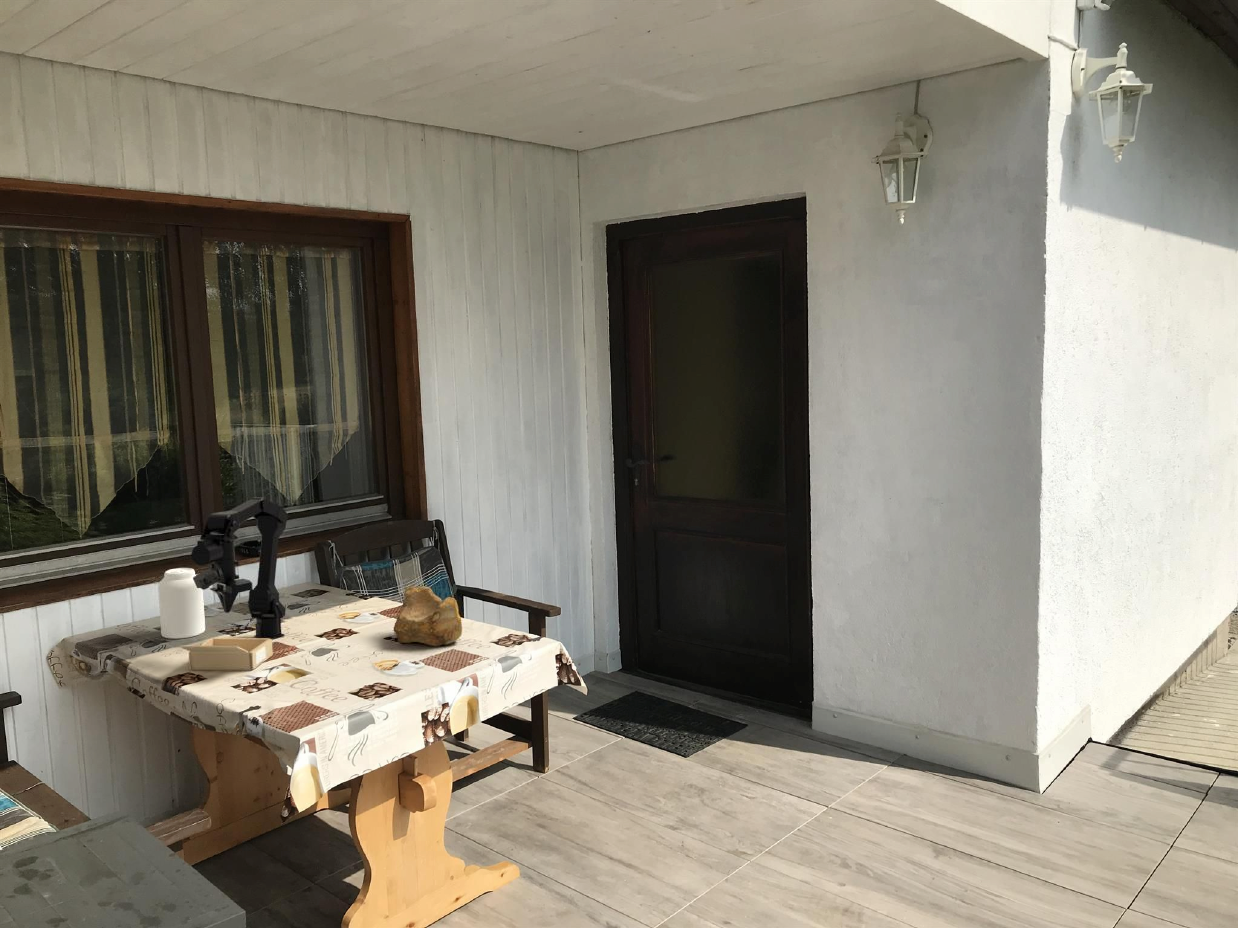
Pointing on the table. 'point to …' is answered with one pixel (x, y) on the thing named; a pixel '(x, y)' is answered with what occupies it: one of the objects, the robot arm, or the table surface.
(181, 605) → the white jar
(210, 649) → the flap
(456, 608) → the rough brown rock
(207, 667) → the carton
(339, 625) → the table surface
